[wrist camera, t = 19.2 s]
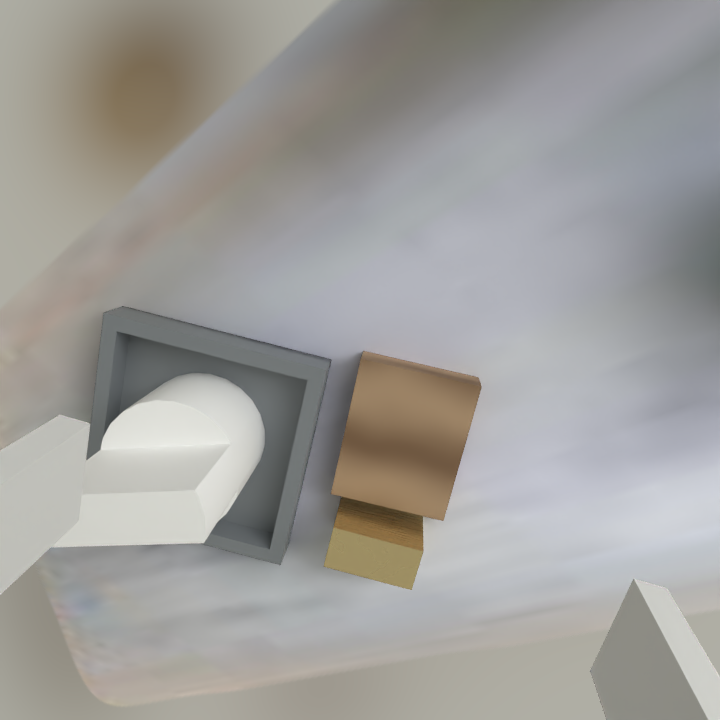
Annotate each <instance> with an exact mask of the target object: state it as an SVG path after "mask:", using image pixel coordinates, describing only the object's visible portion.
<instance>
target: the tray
mask: <svg viewBox="0 0 720 720" xmlns="http://www.w3.org/2000/svg"><path fill="white" fill-rule="evenodd" d="M330 364H331V359H327V358H323V357H319V356H315V355H311V354H308V353H304V352H300V351H296V350H292V349H288V348H284V347H280V346H276V345H272V344H268V343H265V342H261V341H257V340H253V339H249V338H245V337H241V336H237V335H233V334H229V333H226V332H222V331H218V330H214V329H210V328H206V327H202V326H198V325H194V324H190V323H186V322H183V321H179V320H175V319H171V318H167V317H163V316H159V315H155V314H151V313H147V312H144V311H140V310H136V309H132V308H128V307H124V306H122V307H119V308H117V309H114V310H111V311H108V312H105V313H104V315H103V323H102V332H101V340H100V349H99V357H98V366H97V374H96V383H95V391H94V400H93V408H92V417H91V425H90V434H89V442H88V451H87V460H88V459H89V458H90V457H92V456H93V455H94V454H96V453H97V452H98V451H100V449H101V444H102V439H103V437H104V435H105V433H106V431H107V429H108V428H109V426H110V424H111V423H112V422H113V421H114V420H115V419H116V418H117V417H118V416H119V415H120V414H121V413H122V412H123V411H125V410H126V409H127V408H129V407H130V406H132V405H133V404H135V403H136V402H137V401H139V400H140V399H142V398H143V397H145V396H146V395H148V394H149V393H150V392H152V391H153V390H155V389H156V388H158V387H159V386H161V385H162V384H163V383H165V382H167V381H169V380H171V379H173V378H175V377H177V376H179V375H184V374H189V373H206V374H212V375H215V376H218V377H221V378H224V379H227V380H228V381H230V382H232V383H233V384H235V385H236V386H238V387H240V388H241V389H242V390H243V391H244V392H245V393H246V394H247V395H248V396H249V397H250V398H251V399H252V401H253V402H254V404H255V406H256V408H257V409H258V411H259V413H260V415H261V418H262V422H263V425H264V429H265V446H264V450H263V453H262V457H261V460H260V461H259V463H258V465H257V466H256V468H255V469H254V471H253V473H252V474H251V476H250V477H249V479H248V481H247V482H246V484H245V485H244V487H243V489H242V490H241V492H240V493H239V495H238V497H237V498H236V500H235V501H234V503H233V505H232V506H231V508H230V509H229V511H228V512H227V514H226V515H225V516H223V517H222V518H221V519H220V520H219V521H218V522H217V523H216V525H215V527H214V528H213V530H212V531H211V533H210V534H209V536H208V538H207V539H206V541H205V542H204V543H200V544H204V545H208V546H211V547H215V548H219V549H223V550H226V551H230V552H234V553H238V554H241V555H245V556H249V557H252V558H256V559H260V560H264V561H267V562H271V563H275V564H279V565H281V563H282V560H283V557H284V555H285V552H286V550H287V547H288V544H289V540H290V535H291V531H292V527H293V523H294V518H295V514H296V510H297V505H298V501H299V497H300V493H301V488H302V484H303V480H304V475H305V471H306V467H307V463H308V458H309V454H310V450H311V445H312V441H313V437H314V432H315V428H316V424H317V420H318V415H319V411H320V407H321V402H322V398H323V394H324V390H325V385H326V381H327V377H328V372H329V368H330Z"/></svg>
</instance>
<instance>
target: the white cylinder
mask: <svg viewBox="0 0 720 720" xmlns="http://www.w3.org/2000/svg"><path fill="white" fill-rule="evenodd" d="M264 446H265V429H264V425H263V422H262V418H261V415H260V413H259V411H258V409H257V408H256V406H255V404H254V402H253V401H252V399H251V398H250V397H249V396H248V395H247V394H246V393H245V392H244V391H243V390H242V389H241V388H240V387H238V386H236V385H235V384H233V383H232V382H230V381H228V380H227V379H224V378H221V377H218V376H215V375H212V374H206V373H189V374H184V375H179V376H177V377H175V378H173V379H171V380H169V381H167V382H165V383H163V384H162V385H161V386H159V387H158V388H156V389H155V390H153V391H152V392H150V393H149V394H148V395H146V396H145V397H143V398H142V399H140V400H139V401H137V402H136V403H135V404H133V405H132V406H130V407H129V408H127V409H126V410H125V411H123V412H122V413H121V414H120V415H119V416H118V417H117V418H116V419H115V420H114V421H113V422H112V423H111V424H110V426H109V428H108V429H107V431H106V433H105V435H104V437H103V439H102V444H101V449H100V451H98V452H97V453H96V454H94V455H93V456H92V457H90V458H89V459H88V460H86V464H85V472H84V481H83V489H82V497H81V506H80V514H79V521H78V522H77V523H76V524H75V525H74V526H73V527H72V528H71V529H70V530H69V531H68V532H67V533H66V534H64V535H63V536H62V537H61V538H60V539H59V540H58V541H57V542H56V543H55V544H54V545H53V546H52V547H82V546H118V545H153V544H189V543H204V542H205V541H206V539H207V538H208V536H209V534H210V533H211V531H212V530H213V528H214V527H215V525H216V523H217V522H218V521H219V520H220V519H221V518H222V517H223V516H225V515H226V514H227V512H228V511H229V509H230V508H231V506H232V505H233V503H234V501H235V500H236V498H237V497H238V495H239V493H240V492H241V490H242V489H243V487H244V485H245V484H246V482H247V481H248V479H249V477H250V476H251V474H252V473H253V471H254V469H255V468H256V466H257V465H258V463H259V461H260V460H261V457H262V453H263V450H264Z"/></svg>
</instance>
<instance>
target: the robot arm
mask: <svg viewBox="0 0 720 720" xmlns="http://www.w3.org/2000/svg"><path fill="white" fill-rule="evenodd" d="M89 430H90V423H88V422H84V421H81V420H77V419H74V418H70V417H67V416H63V415H58V416H57V417H55V418H53V419H52V420H50V421H48V422H47V423H45V424H43V425H42V426H40V427H38V428H37V429H35V430H33V431H32V432H30V433H28V434H27V435H25V436H23V437H22V438H20V439H18V440H17V441H15V442H13V443H12V444H10V445H8V446H7V447H5V448H4V449H2V450H0V594H2V593H3V592H4V591H5V590H6V589H7V588H8V587H9V586H10V585H11V584H12V583H13V582H14V581H15V580H17V579H18V578H19V577H20V576H21V575H22V574H23V573H24V572H25V571H26V570H27V569H28V568H29V567H30V566H31V565H32V564H34V563H35V562H36V561H37V560H38V559H39V558H40V557H41V556H42V555H43V554H44V553H45V552H46V551H47V550H48V549H50V548H51V547H52V546H53V545H54V544H55V543H56V542H57V541H58V540H59V539H60V538H61V537H62V536H63V535H64V534H66V533H67V532H68V531H69V530H70V529H71V528H72V527H73V526H74V525H75V524H76V523H77V522H78V521H79V514H80V506H81V497H82V489H83V481H84V472H85V464H86V455H87V447H88V439H89ZM590 672H591V675H592V678H593V681H594V684H595V687H596V690H597V693H598V696H599V699H600V702H601V705H602V708H603V711H604V714H605V717H606V720H720V676H719V675H718V673H717V671H716V670H715V668H714V666H713V665H712V663H711V661H710V660H709V658H708V656H707V655H706V653H705V651H704V650H703V648H702V646H701V645H700V643H699V641H698V640H697V638H696V636H695V635H694V633H693V631H692V630H691V628H690V626H689V625H688V623H687V621H686V620H685V618H684V616H683V615H682V613H681V611H680V610H679V608H678V606H677V605H676V603H675V601H674V599H673V598H672V596H671V594H670V593H669V591H668V589H667V588H665V587H661V586H658V585H654V584H651V583H647V582H644V581H640V580H637V579H633V581H632V583H631V585H630V587H629V590H628V592H627V594H626V596H625V598H624V600H623V602H622V604H621V607H620V609H619V611H618V613H617V615H616V617H615V619H614V621H613V623H612V626H611V628H610V630H609V632H608V634H607V636H606V638H605V641H604V643H603V645H602V647H601V649H600V651H599V653H598V655H597V657H596V660H595V662H594V664H593V666H592V668H591V670H590Z"/></svg>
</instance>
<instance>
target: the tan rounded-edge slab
mask: <svg viewBox="0 0 720 720" xmlns="http://www.w3.org/2000/svg"><path fill="white" fill-rule="evenodd" d="M481 387H482V386H481V383H480V381H479V378H478V377H474V376H470V375H465V374H461V373H457V372H452V371H448V370H444V369H439V368H435V367H431V366H426V365H422V364H418V363H413V362H409V361H405V360H400V359H396V358H392V357H387V356H383V355H379V354H374V353H370V352H366V351H363V354H362V357H361V360H360V364H359V369H358V373H357V378H356V382H355V387H354V391H353V396H352V400H351V405H350V409H349V414H348V418H347V423H346V427H345V432H344V437H343V441H342V446H341V450H340V455H339V459H338V464H337V468H336V473H335V477H334V482H333V486H332V491H331V494H333V495H337V496H342V497H346V498H350V499H354V500H358V501H362V502H367V503H371V504H375V505H379V506H383V507H388V508H392V509H396V510H400V511H404V512H408V513H413V514H417V515H421V516H425V517H429V518H433V519H438V520H442V521H443V520H444V517H445V513H446V510H447V506H448V503H449V499H450V496H451V492H452V489H453V485H454V482H455V478H456V475H457V471H458V468H459V464H460V461H461V457H462V454H463V450H464V447H465V443H466V440H467V436H468V433H469V429H470V426H471V422H472V419H473V415H474V412H475V408H476V405H477V401H478V398H479V394H480V391H481Z"/></svg>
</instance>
